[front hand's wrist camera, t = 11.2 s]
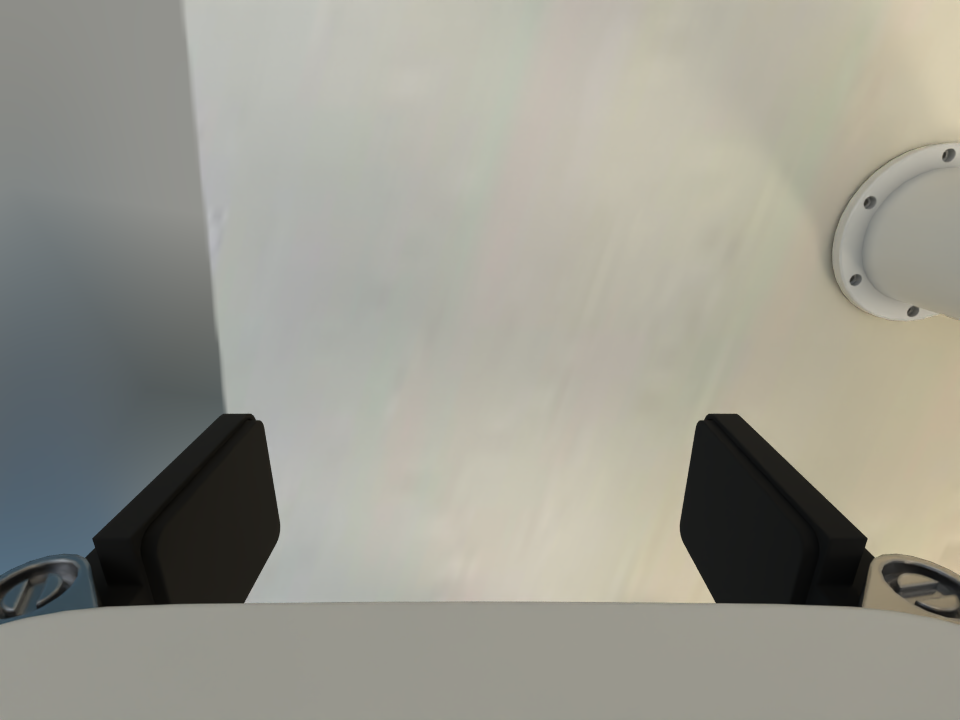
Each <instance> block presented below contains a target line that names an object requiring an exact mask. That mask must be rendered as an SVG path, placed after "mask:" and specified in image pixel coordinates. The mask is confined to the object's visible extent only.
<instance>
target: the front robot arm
mask: <svg viewBox="0 0 960 720" xmlns="http://www.w3.org/2000/svg"><path fill="white" fill-rule="evenodd" d="M832 264H833V270H834V274H835V278H836V281H837V283H838V285H839V287H840V289H841V291H842V293H843V294H844V295H845V296H846V297H847V298H848V300H849V301H850V302H851V303H852V304H854V305H855V306H857V307H858V308H859V309H861V310H862V311H865V312H867V313H869V314H872V315H874V316H877V317H880V318H884V319H887V320H893V321H914V320H922V319H926V318H929V317H933V316H936V315H939V314H941V315H944V316H947V317H950V318H954V319H957V320H960V143H941V144H934V145H927V146H923V147H920V148H917V149H914V150H911V151H908V152H906V153H904V154H902V155H900V156H898V157H896V158H895V159H893V160H891V161H890V162H888V163H887V164H885V165H884V166H883V167H881V168H880V169H878V170H877V171H876V172H875V173H874V174H873V175H872V176H871V177H870V178H869V179H867V180H866V181H865V182H864V183H863V184H862V185H861V187H860V188H859V189H858V191H857V192H856V193H855V195H854V196H853V197H852V198H851V200H850V201H849V203H848V205H847V207H846V208H845V210H844V212H843V214H842V216H841V218H840V221H839V224H838V226H837V229H836V232H835V236H834V242H833V248H832ZM279 534H280V520H279V514H278V508H277V502H276V496H275V490H274V484H273V478H272V472H271V466H270V460H269V454H268V448H267V442H266V435H265V429H264V425H263V423H262V422H261V421H260V420H256V419H255V417H254V416H253V415H252V414H222V415H221V416H220V417H219V418H217V419H216V420H215V421H214V422H213V423H212V424H211V425H210V426H209V427H208V428H207V429H206V430H205V431H204V432H203V433H202V434H201V435H200V436H199V437H198V438H197V439H196V440H195V441H194V442H192V444H190V445H189V446H188V447H187V448H186V449H185V450H184V451H183V452H182V453H181V454H180V455H179V456H178V457H177V458H176V459H175V460H174V461H173V462H172V463H171V464H170V465H169V466H168V467H166V468H165V469H164V470H163V471H162V472H161V473H160V474H159V475H158V476H157V477H156V478H155V479H154V480H153V481H152V482H151V483H150V484H149V485H148V486H147V487H146V488H144V489H143V490H142V491H141V492H140V493H139V494H138V495H137V496H136V497H135V498H134V499H133V500H132V501H131V502H130V503H129V504H128V505H127V506H126V507H125V508H124V509H123V510H122V511H121V512H120V513H118V514H117V515H116V516H115V517H114V518H113V519H112V520H111V521H110V522H109V523H108V524H107V525H106V526H105V527H104V528H103V529H102V530H101V531H100V532H99V533H98V534H97V535H96V536H94V537H93V542H94V545H95V549H94V550H93V551H92V552H91V553H89V555H87V557H85V558H84V557H81V556H79V555H75V554H59V555H52V556H47V557H43V558H40V559H36V560H33V561H29V562H27V563H25V564H22V565H20V566H18V567H15V568H13V569H11V570H9V571H7V572H6V573H4V574H2V575H0V720H960V575H958V574H956V573H954V572H953V571H951V570H949V569H947V568H945V567H942V566H940V565H938V564H935V563H933V562H931V561H927V560H924V559H920V558H917V557H914V556H908V555H901V554H885V555H881V556H878V557H876V558H875V557H874V556H873V555H872V554H871V553H870V552H869V551H867V550H866V549H865V545H866V542H867V539H868V538H867V537H866V536H865V535H863V534H862V533H861V532H860V531H859V530H858V529H857V528H856V527H855V526H854V525H853V524H852V523H851V522H850V521H849V520H848V519H847V518H846V517H845V516H844V515H843V514H842V513H841V512H839V511H838V510H837V509H836V508H835V507H834V506H833V505H832V504H831V503H830V502H829V501H828V500H827V499H826V498H825V497H824V496H823V495H822V494H821V493H820V492H819V491H818V490H817V489H816V488H814V487H813V486H812V485H811V484H810V483H809V482H808V481H807V480H806V479H805V478H804V477H803V476H802V475H801V474H800V473H799V472H798V471H797V470H796V469H795V468H794V467H793V466H792V465H790V464H789V463H788V462H787V461H786V460H785V459H784V458H783V457H782V456H781V455H780V454H779V453H778V452H777V451H776V450H775V449H774V448H773V447H772V446H771V445H770V444H769V443H768V442H766V441H765V440H764V439H763V438H762V437H761V436H760V435H759V434H758V433H757V432H756V431H755V430H754V429H753V428H752V427H751V426H750V425H749V424H748V423H747V422H746V421H745V420H744V419H743V418H741V417H740V416H739V415H738V414H708V415H707V416H706V417H705V419H704V420H700V421H699V422H698V423H697V425H696V429H695V435H694V442H693V448H692V454H691V460H690V466H689V472H688V478H687V484H686V490H685V496H684V502H683V508H682V514H681V520H680V534H681V538H682V541H683V543H684V545H685V547H686V549H687V550H688V552H689V554H690V556H691V558H692V560H693V561H694V563H695V565H696V567H697V569H698V571H699V573H700V574H701V576H702V578H703V580H704V582H705V584H706V585H707V587H708V589H709V591H710V593H711V595H712V597H713V598H714V600H715V602H716V603H621V602H329V603H244V602H245V600H246V598H247V597H248V595H249V593H250V591H251V589H252V587H253V585H254V584H255V582H256V580H257V578H258V576H259V574H260V573H261V571H262V569H263V567H264V565H265V563H266V561H267V560H268V558H269V556H270V554H271V552H272V550H273V549H274V547H275V545H276V543H277V541H278V538H279Z"/></svg>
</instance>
